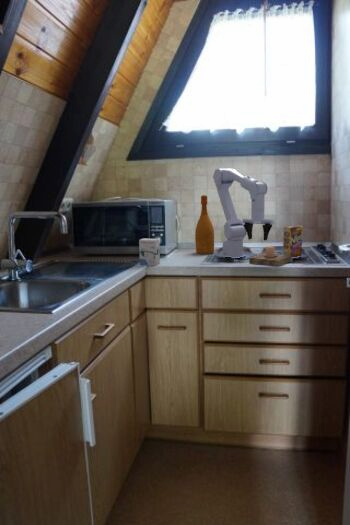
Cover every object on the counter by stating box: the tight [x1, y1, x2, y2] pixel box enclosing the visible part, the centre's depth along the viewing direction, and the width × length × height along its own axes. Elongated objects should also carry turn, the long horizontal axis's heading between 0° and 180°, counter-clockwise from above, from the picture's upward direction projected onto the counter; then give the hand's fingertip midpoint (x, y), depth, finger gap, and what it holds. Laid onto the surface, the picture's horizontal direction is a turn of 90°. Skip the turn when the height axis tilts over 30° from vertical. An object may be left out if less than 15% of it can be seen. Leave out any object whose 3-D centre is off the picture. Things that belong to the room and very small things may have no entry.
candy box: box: [282, 225, 304, 258], centre depth 200 cm, size 9×4×15 cm, turn 123°
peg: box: [265, 245, 276, 258], centre depth 194 cm, size 4×4×7 cm
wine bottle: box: [194, 194, 215, 255], centre depth 221 cm, size 10×10×30 cm
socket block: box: [248, 252, 292, 267], centre depth 194 cm, size 14×14×2 cm
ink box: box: [138, 237, 161, 266], centre depth 198 cm, size 9×5×12 cm, turn 71°
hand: (257, 239), depth 193 cm, fingers open, 7 cm apart
